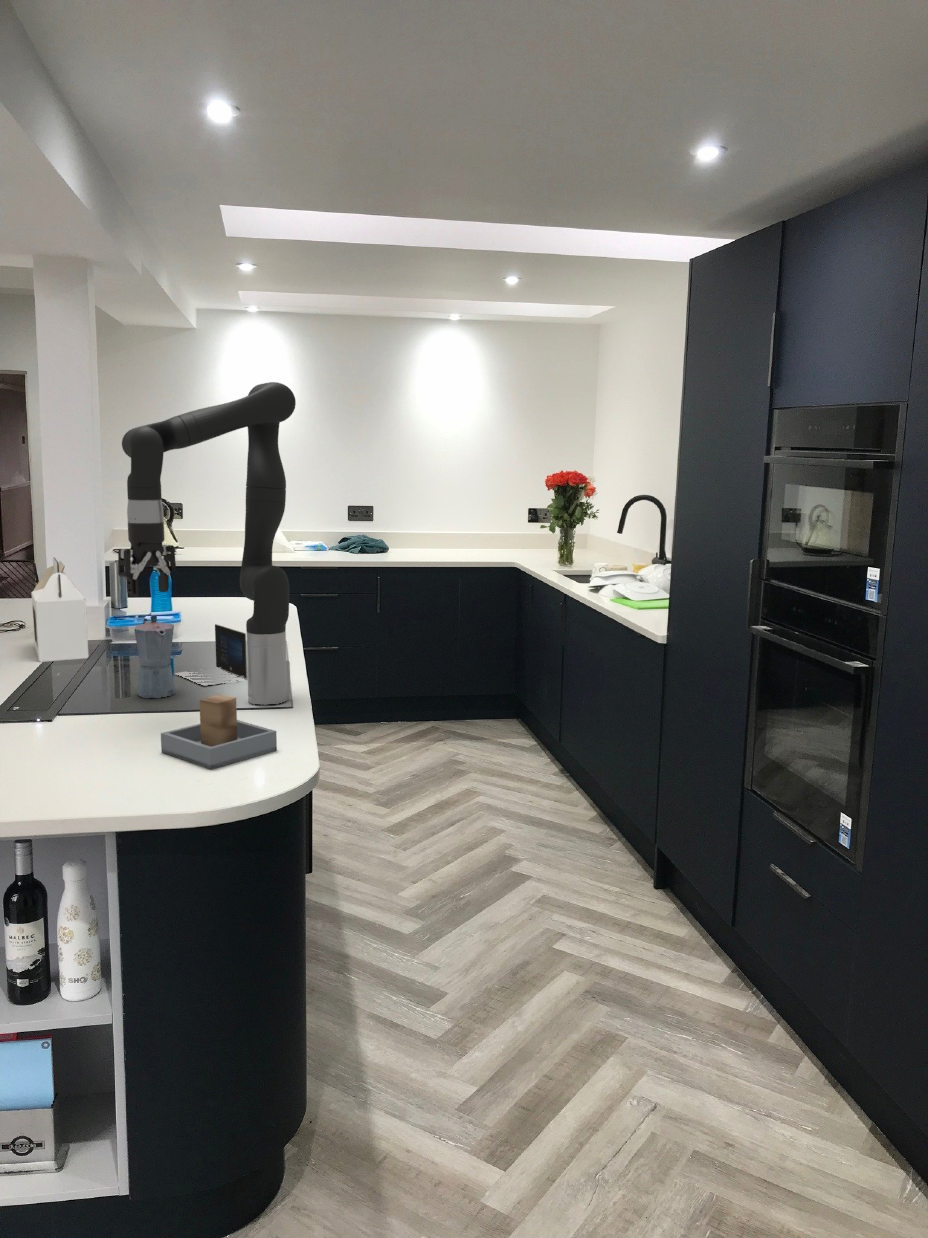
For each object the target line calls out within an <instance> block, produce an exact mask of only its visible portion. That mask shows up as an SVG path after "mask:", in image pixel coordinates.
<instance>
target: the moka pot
mask: <svg viewBox="0 0 928 1238" xmlns="http://www.w3.org/2000/svg"><path fill="white" fill-rule="evenodd" d="M149 617H150V620H148V619H147V618H143V622H142V623H141V624H138V625H137V624H136V625H135V627H134V630H133V631H134V637H135V642H136V648H137V654H138V655H137V656H138V658H139V664H140V665H139V671H138V683H137V692H136V693H137V696H138V697H140V698H144V699H149V698H157V699H162V698H161V697H165V698H168V697H167V696H169V697H171V696H173V695H174V694H175V693H176V688H175V687H176V686H175V683H174V676H173V670H172V666H171V657H172V651H173V640H174V639H173V637H174V628H175V625H174V624H172V623H167V622H162V621H157V620H158V619H157V618H158V616H157V615H151V616H149Z"/></svg>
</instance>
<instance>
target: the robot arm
mask: <svg viewBox="0 0 928 1238" xmlns="http://www.w3.org/2000/svg"><path fill="white" fill-rule="evenodd" d="M296 405H297V404H296V397H295V395H294V393H293V390H292V389H291V388H290V387H288V386H287V385H286V384H284V383H281V382H277V381H276V382H275V381H271V382H270V381H269V382H263V383H259V384H256V385H255V386H253V387H252V388H251V389H250V390H249V392H248V394H247V395H246V396H243V397H241V398H238V399H235V400H232V401H228V402H226V403H225V402H224V403H222V404H221V403H220V404H217V405H212V406H207V407H203V408H198V409H195V410H191V411H188V412H185V413H182V414H178V415H175V416H173V417H170V418H168V419H165V420H162V421H158V422H157V421H156V422H154V423H149V424H145V425H141V426H136V427H133V428H131V429H129V430H128V431H126V432H125V434H124V435H123V436H122V440H121V447H122V451H123V452H124V453H125V455H127V456H128V458H130V473H129V474H128V476H127V479H126V480H127V481H126V486H127V488H126V489H127V490H126V491H127V506H126V507H127V508H126V515H127V517H126V518H127V538H128V542H129V543H130V548H127V549H125V548H119V549H118V551H117V552H118V553H117V555H118V557H117V558H118V559H117V561H118V563H117V564H118V567H117V570H118V571H117V573H118V576H119V577H122V578H124V579H125V580H126V589H127V591H126V592H127V594H128V596H129V597H134V598H136V597H138V596H139V579H138V577H139V575H140V573H141V572H143V570H144V568H149V567H152V568H154V569H155V570H156V572H157V573H158V574H159V575H157V581H158V592H160V593H167V592H169V588H170V580H169V579H170V578H169V576H170V575H171V573H173V572H176V570H177V564H176V563H177V562H176V553H175V552H176V551H175V546H174V545H170V544H163V542H164V541H165V520H164V519H165V518H164V517H165V516H164V507H163V500H162V497H163V496H162V482H161V478H162V471H163V464H164V463H163V462H164V453H167V452H169V451H174V450H180V449H186V448H188V447H191V446H195V445H198V444H201V443H203V442H206V441H209V440H212V439H215V438H217V437H221V436H222V435H225V434H229V433H231V432H234V431H237V430H240V429H243V428H247V437H248V438H247V440H248V444H247V446H248V447H247V461H246V463H247V464H246V483H245V515H244V516H245V519H244V544H243V553H242V558H241V559H242V560H241V567H240V574H239V587H240V590H241V592H242V594H243V596H244V597H245V598H247V599H248V600H250V601H252V602H253V611H252V612H253V613H252V616H251V617H249V618H248V619H247V620H246V621H245V627H246V628H245V629H246V630H245V631H246V632H245V633H246V656H247V701H248V703H249V702H250V703H249V704H251V703H252V704H251V705H255V704H261V705H260V706H263V705H262V704H276V705H280V704H279V703H281V704H283V703H282V702H284V703H286V702H287V701H289V700H291V665H290V660H287V634H286V633H287V631H286V630H287V628H286V626H287V622H288V620H289V615H290V614H289V613H290V582H289V578H288V576H287V573H286V571H284V570H283V568H281V567H279V566H276V565H273V545H274V540H275V538H276V537H275V536H276V534H277V532H278V530H279V527H280V525H281V523H282V519H283V516H284V515H285V511H286V509H285V508H286V503H287V502H286V501H287V500H286V498H287V480H286V474H285V469H284V466H283V463H282V458H281V454H280V448H279V435H280V434H279V432H280V423H283V422H285V421H286V420H288V419H289V418H290V417H291V416H292V415H293V413H294V412H295V410H296ZM285 701H286V702H285Z"/></svg>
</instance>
